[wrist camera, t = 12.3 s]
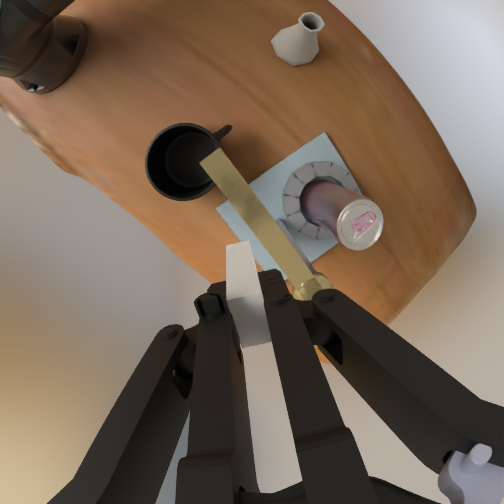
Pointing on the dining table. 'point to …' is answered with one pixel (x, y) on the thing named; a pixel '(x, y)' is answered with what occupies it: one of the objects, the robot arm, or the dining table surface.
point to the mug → (182, 160)
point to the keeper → (264, 226)
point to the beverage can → (343, 214)
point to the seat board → (274, 201)
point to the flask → (299, 40)
